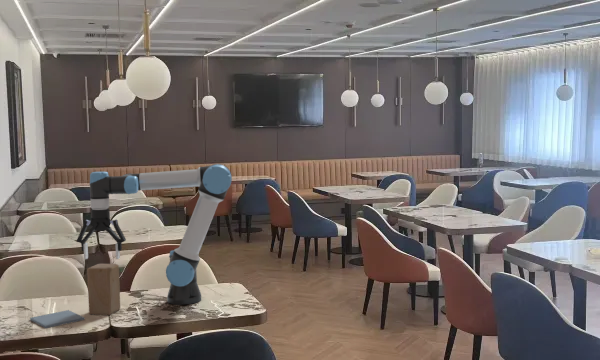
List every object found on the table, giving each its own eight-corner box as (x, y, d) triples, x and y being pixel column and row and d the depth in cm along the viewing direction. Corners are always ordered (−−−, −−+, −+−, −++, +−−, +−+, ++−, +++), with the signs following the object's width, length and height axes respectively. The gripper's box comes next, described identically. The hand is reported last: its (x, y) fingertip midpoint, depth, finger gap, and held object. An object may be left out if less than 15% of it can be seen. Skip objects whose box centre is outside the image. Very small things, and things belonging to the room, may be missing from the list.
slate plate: (68, 312, 282) (68, 310, 282) (84, 319, 271) (84, 317, 271) (30, 320, 272) (30, 317, 272) (45, 328, 260) (45, 325, 260)
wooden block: (110, 315, 275) (108, 268, 274) (88, 315, 277) (86, 267, 276) (121, 309, 285) (119, 263, 284) (100, 308, 287) (97, 263, 286)
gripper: (132, 207, 281) (133, 256, 283) (74, 207, 282) (76, 257, 284) (126, 209, 274) (128, 260, 275) (67, 209, 275) (69, 260, 276)
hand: (102, 258), depth 280 cm, fingers open, 13 cm apart
